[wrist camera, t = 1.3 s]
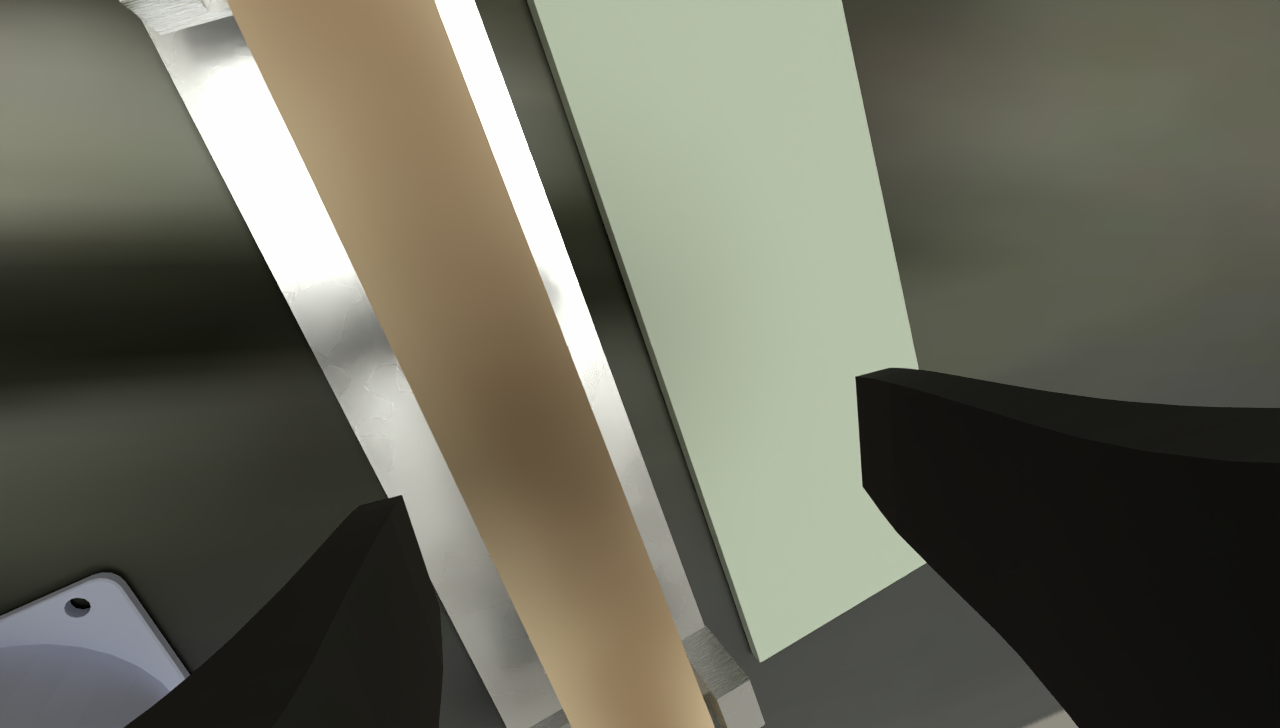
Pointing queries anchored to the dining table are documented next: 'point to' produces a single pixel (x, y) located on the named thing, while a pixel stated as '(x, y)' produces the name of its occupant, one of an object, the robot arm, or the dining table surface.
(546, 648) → the rail
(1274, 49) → the dining table surface
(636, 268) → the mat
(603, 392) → the rack
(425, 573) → the robot arm
